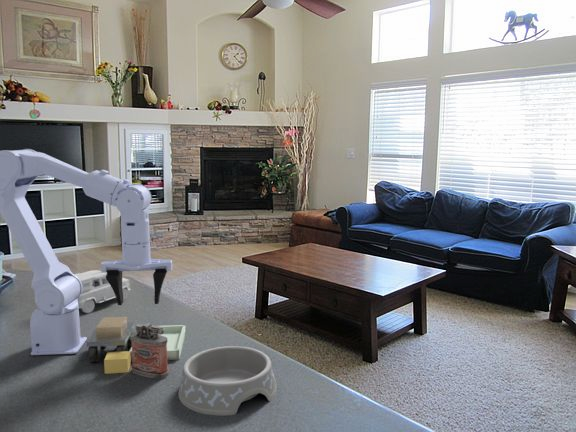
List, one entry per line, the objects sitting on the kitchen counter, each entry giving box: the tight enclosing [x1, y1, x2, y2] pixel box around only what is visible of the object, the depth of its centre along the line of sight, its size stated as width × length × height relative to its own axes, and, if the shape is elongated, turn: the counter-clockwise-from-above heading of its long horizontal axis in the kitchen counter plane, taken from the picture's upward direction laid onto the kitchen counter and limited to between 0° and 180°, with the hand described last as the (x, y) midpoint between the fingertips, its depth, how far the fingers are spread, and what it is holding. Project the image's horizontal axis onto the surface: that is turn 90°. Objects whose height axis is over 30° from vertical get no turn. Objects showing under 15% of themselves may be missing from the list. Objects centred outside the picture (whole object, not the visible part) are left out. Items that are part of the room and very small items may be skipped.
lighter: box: [130, 322, 170, 380], centre depth 98 cm, size 8×3×10 cm, turn 68°
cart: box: [86, 316, 136, 363], centre depth 107 cm, size 8×11×7 cm
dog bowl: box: [178, 345, 278, 416], centre depth 93 cm, size 17×18×5 cm
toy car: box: [73, 269, 132, 314], centre depth 138 cm, size 10×20×10 cm, turn 151°
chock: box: [103, 350, 132, 375], centre depth 100 cm, size 4×4×3 cm
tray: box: [129, 324, 187, 362], centre depth 111 cm, size 10×14×2 cm
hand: (138, 303), depth 108 cm, fingers open, 7 cm apart
